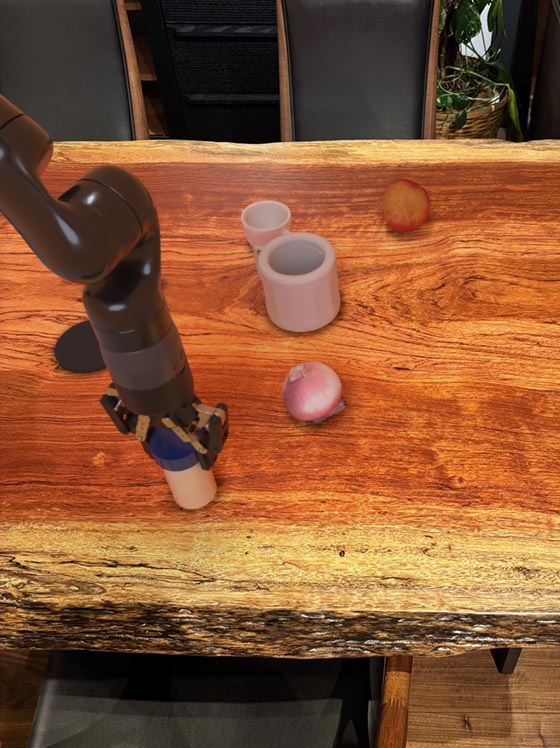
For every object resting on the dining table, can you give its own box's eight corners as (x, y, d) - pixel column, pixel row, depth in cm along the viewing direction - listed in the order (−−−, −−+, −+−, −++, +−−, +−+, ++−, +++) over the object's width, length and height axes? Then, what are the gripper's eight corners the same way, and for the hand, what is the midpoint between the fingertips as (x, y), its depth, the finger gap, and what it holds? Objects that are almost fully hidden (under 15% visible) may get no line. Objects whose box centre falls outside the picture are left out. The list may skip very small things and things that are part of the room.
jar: (171, 511, 95) (151, 463, 87) (175, 475, 98) (155, 425, 91) (216, 507, 95) (199, 458, 87) (217, 470, 98) (201, 421, 91)
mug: (355, 299, 118) (351, 246, 110) (311, 344, 112) (303, 291, 104) (283, 267, 123) (274, 214, 115) (237, 309, 117) (225, 256, 110)
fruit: (441, 224, 129) (442, 182, 123) (407, 248, 125) (407, 206, 119) (404, 204, 132) (404, 162, 126) (371, 227, 129) (368, 186, 123)
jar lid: (151, 474, 88) (146, 463, 87) (156, 432, 92) (151, 420, 91) (205, 469, 88) (201, 458, 87) (207, 427, 92) (204, 415, 91)
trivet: (50, 377, 110) (48, 373, 109) (62, 325, 116) (60, 321, 116) (123, 370, 110) (122, 366, 109) (131, 319, 117) (130, 315, 116)
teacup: (235, 245, 127) (229, 217, 123) (270, 221, 131) (265, 193, 127) (280, 271, 122) (275, 243, 118) (315, 245, 126) (311, 217, 122)
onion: (301, 379, 108) (295, 342, 102) (355, 393, 106) (351, 356, 100) (275, 423, 103) (267, 386, 97) (330, 439, 101) (326, 403, 95)
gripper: (62, 374, 78) (111, 473, 91) (198, 400, 75) (230, 498, 88) (98, 321, 83) (140, 422, 95) (228, 343, 80) (254, 444, 92)
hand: (183, 458), depth 91 cm, fingers closed on jar lid, 5 cm apart
